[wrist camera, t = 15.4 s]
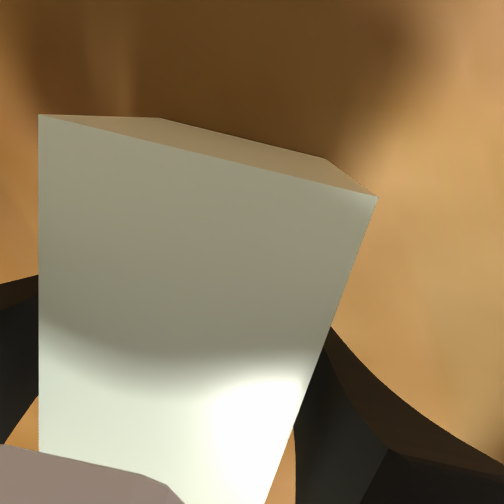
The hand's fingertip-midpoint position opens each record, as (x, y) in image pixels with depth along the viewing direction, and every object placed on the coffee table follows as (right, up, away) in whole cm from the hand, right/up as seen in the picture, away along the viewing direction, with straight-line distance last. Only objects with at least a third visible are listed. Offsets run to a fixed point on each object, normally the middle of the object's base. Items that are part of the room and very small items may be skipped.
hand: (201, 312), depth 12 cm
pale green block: (0, +1, +2) cm, 2 cm away
